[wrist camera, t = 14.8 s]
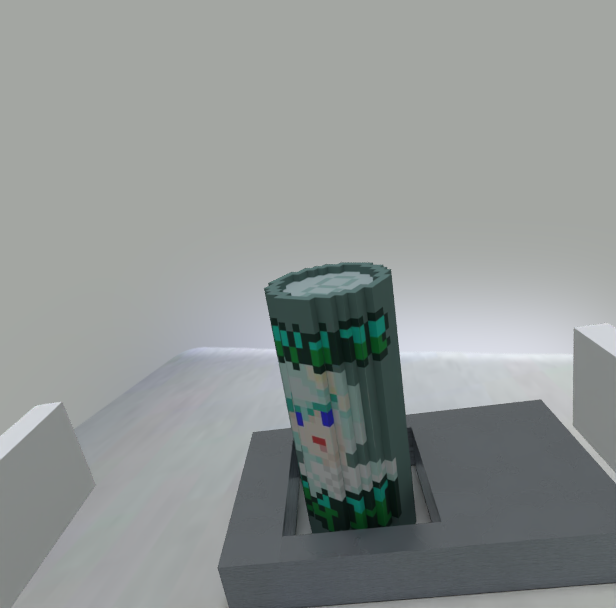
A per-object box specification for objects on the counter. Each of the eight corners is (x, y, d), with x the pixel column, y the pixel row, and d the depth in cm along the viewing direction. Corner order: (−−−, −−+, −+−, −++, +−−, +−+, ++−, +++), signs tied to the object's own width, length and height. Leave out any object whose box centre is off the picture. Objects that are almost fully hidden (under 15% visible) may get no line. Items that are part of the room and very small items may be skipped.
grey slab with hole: (540, 436, 31) (540, 399, 30) (650, 579, 21) (655, 528, 20) (260, 466, 33) (252, 432, 32) (230, 612, 22) (217, 567, 21)
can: (292, 534, 26) (241, 295, 22) (344, 470, 31) (311, 262, 26) (385, 577, 23) (349, 303, 18) (429, 498, 27) (408, 262, 23)
